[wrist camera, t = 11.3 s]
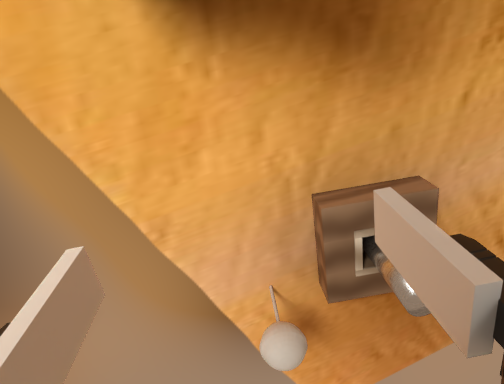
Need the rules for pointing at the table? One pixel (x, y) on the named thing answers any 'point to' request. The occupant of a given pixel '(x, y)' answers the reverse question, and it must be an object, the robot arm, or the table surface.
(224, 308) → the table surface
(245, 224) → the table surface
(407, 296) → the pin
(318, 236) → the bore block
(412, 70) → the table surface
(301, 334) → the lollipop
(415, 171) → the table surface
